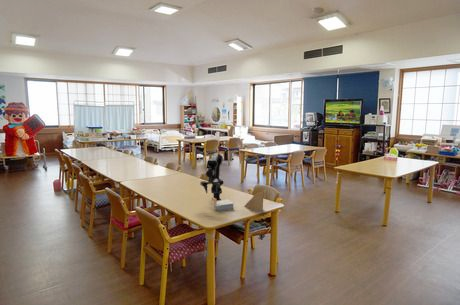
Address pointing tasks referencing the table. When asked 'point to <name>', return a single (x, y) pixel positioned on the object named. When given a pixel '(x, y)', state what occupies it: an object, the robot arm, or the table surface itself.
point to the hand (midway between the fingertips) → (211, 192)
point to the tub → (224, 207)
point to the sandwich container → (256, 202)
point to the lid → (221, 202)
